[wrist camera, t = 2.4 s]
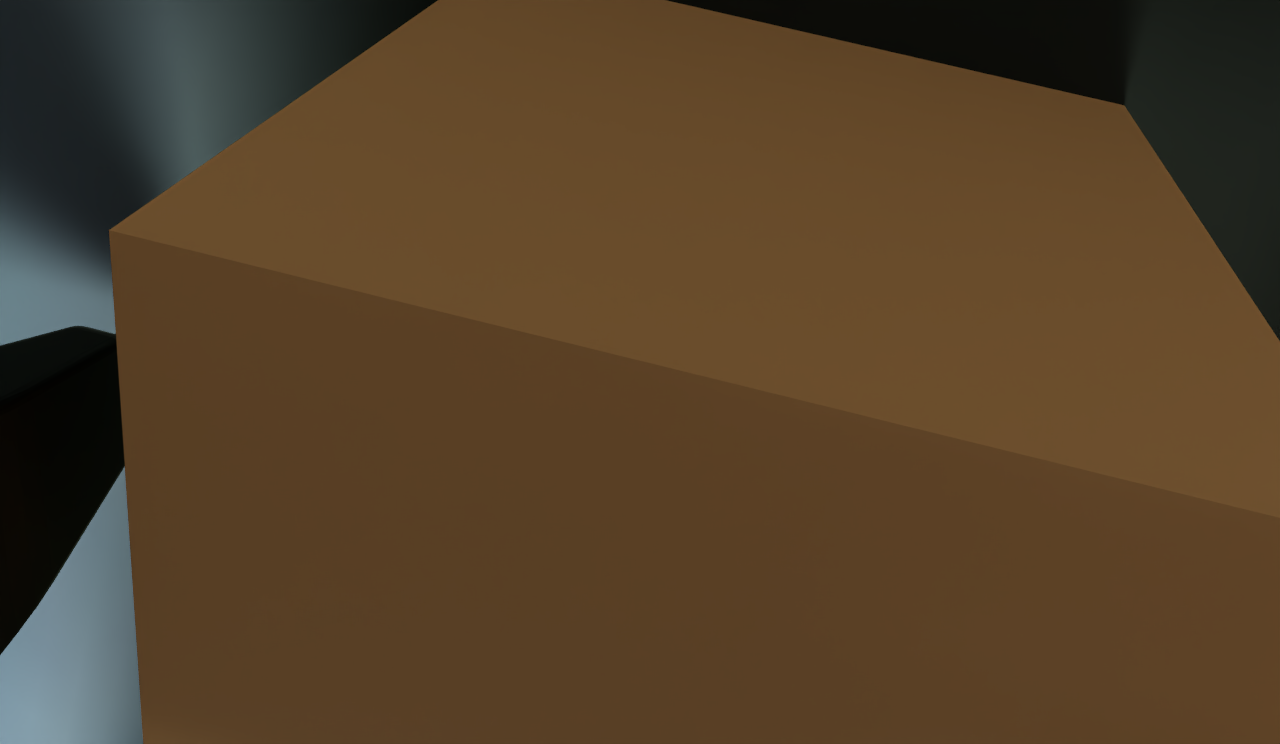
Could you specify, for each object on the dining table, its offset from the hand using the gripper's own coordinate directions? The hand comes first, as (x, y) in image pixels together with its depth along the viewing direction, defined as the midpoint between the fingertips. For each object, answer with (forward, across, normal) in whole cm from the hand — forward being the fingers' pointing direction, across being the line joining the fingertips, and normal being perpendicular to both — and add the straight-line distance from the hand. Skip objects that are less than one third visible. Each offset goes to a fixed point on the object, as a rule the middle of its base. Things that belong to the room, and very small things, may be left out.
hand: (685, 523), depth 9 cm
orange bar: (+1, 0, 0) cm, 1 cm away
